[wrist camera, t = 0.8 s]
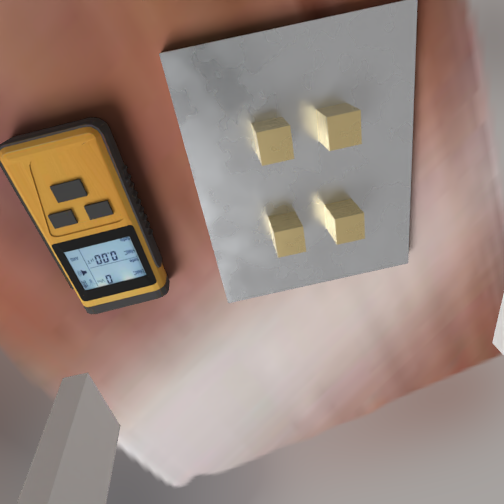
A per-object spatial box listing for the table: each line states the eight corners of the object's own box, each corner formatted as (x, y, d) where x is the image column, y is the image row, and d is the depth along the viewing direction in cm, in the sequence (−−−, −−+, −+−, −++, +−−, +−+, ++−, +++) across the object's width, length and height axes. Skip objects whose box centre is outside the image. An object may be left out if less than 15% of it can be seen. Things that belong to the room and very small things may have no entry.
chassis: (160, 52, 27) (154, 56, 23) (409, -2, 27) (441, -6, 24) (227, 295, 38) (230, 323, 35) (402, 256, 38) (423, 280, 35)
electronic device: (109, 110, 29) (99, 118, 26) (174, 276, 37) (172, 297, 34) (2, 137, 29) (-20, 149, 26) (90, 297, 37) (80, 320, 34)
